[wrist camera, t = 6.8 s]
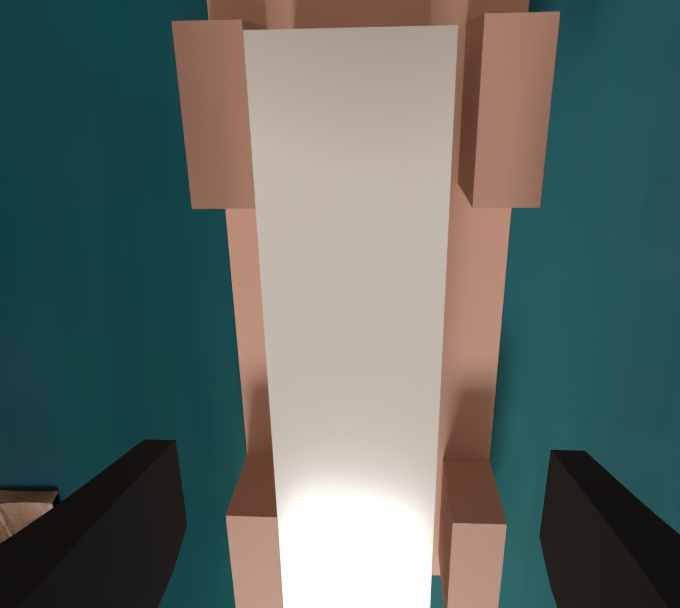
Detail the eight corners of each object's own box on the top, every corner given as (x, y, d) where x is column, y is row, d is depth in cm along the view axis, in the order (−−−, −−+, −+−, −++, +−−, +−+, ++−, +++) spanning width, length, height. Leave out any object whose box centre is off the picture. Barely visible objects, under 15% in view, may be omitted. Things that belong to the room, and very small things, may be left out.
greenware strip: (430, 38, 15) (458, 24, 10) (414, 538, 21) (424, 707, 16) (293, 41, 16) (242, 30, 10) (314, 534, 21) (290, 700, 16)
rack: (522, -20, 16) (566, -46, 12) (475, 555, 23) (493, 652, 19) (215, -12, 16) (165, -33, 12) (262, 548, 23) (239, 640, 19)
